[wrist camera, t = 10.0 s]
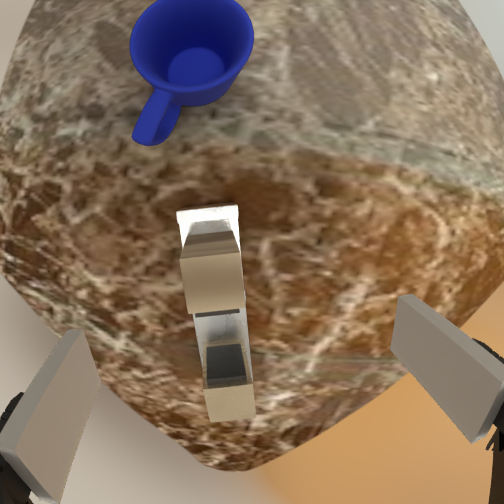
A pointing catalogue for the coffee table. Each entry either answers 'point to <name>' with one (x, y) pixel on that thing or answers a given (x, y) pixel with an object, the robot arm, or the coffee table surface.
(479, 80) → the coffee table surface
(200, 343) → the rail
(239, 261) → the tan cardboard carton
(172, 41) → the mug
